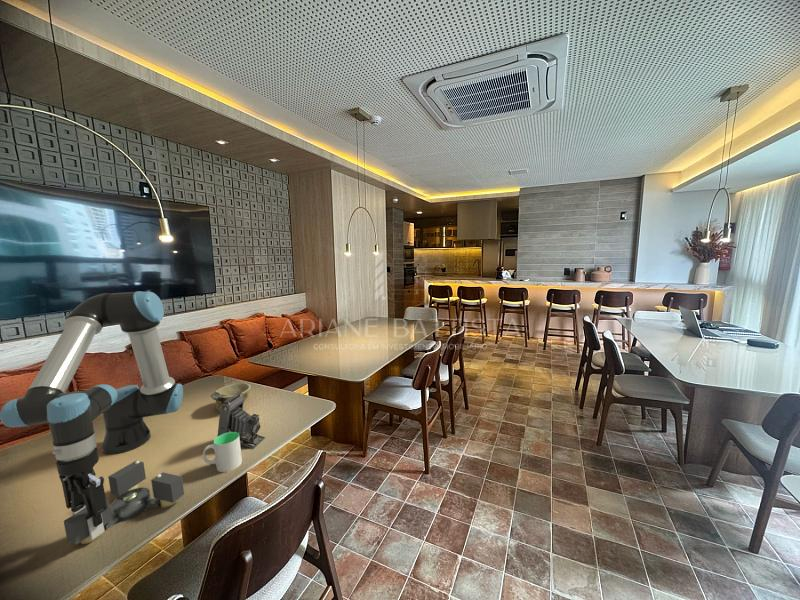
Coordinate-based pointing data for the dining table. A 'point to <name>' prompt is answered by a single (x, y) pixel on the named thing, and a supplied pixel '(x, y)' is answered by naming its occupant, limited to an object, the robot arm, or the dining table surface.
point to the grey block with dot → (127, 478)
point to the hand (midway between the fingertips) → (91, 533)
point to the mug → (226, 452)
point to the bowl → (230, 393)
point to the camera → (239, 421)
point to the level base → (131, 505)
